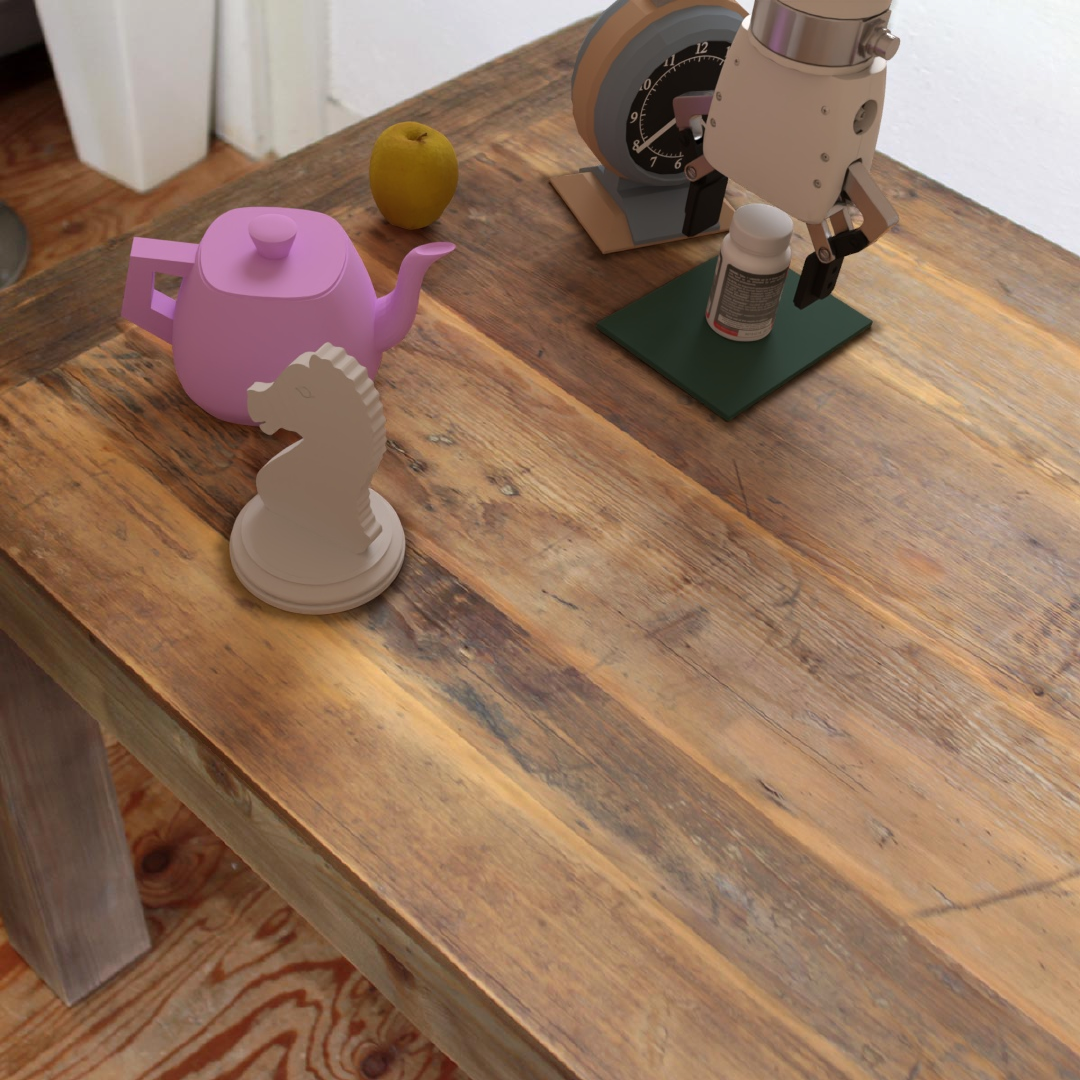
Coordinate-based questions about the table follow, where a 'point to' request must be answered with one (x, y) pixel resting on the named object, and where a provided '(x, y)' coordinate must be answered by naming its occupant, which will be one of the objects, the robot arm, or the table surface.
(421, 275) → the teapot
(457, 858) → the table surface
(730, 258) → the pill bottle
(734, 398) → the mat
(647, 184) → the alarm clock
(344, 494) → the chess piece
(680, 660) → the table surface
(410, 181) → the apple
